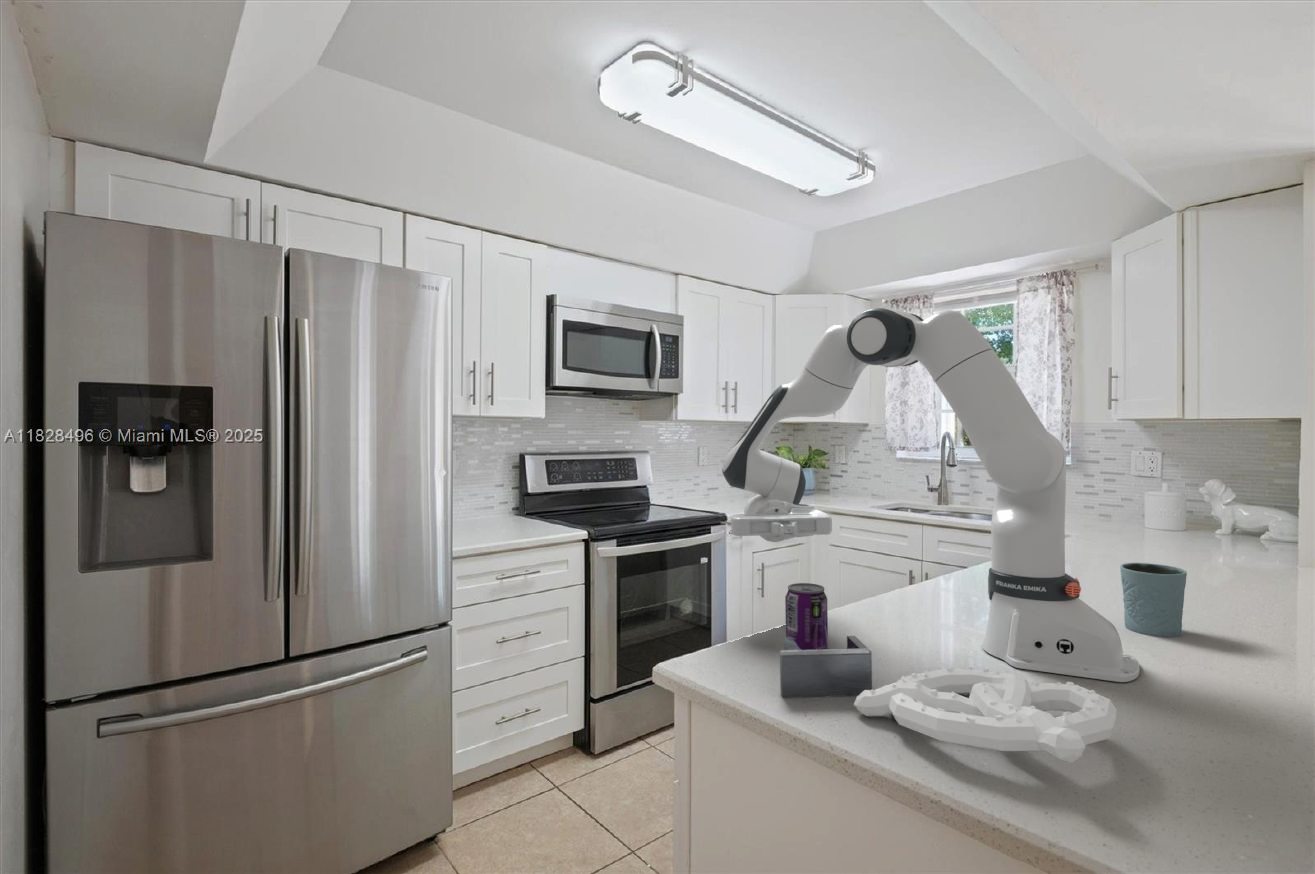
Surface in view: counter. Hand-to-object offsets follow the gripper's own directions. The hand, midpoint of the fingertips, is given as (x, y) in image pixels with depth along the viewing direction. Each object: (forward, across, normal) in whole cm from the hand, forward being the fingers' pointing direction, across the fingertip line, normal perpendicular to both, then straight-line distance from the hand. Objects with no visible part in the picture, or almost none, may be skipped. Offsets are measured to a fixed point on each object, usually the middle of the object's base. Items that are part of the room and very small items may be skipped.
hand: (788, 530), depth 122 cm
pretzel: (+41, +15, +20) cm, 48 cm away
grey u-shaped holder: (+25, -1, +20) cm, 32 cm away
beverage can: (+12, 0, +20) cm, 24 cm away
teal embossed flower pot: (+3, +69, +20) cm, 72 cm away
